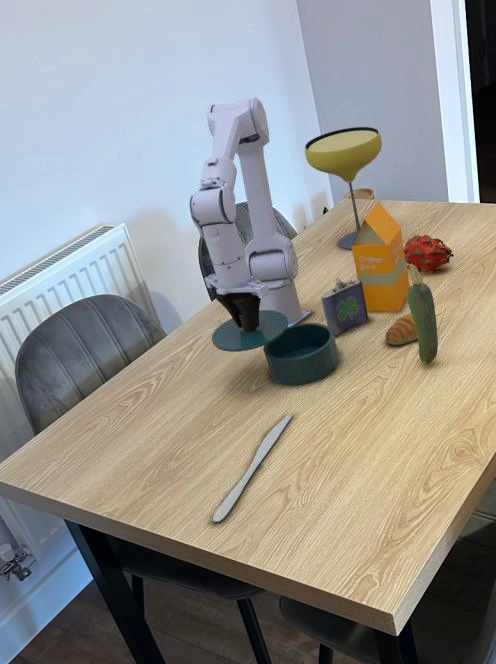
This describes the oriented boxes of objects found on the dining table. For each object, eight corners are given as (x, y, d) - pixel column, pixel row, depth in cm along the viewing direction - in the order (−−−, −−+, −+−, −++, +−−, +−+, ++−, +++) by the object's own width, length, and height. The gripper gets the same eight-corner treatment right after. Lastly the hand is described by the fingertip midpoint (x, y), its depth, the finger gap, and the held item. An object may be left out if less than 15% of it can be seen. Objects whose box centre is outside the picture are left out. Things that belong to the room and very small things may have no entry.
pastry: (401, 351, 142) (397, 333, 140) (377, 341, 147) (374, 324, 145) (436, 329, 146) (434, 312, 144) (412, 321, 151) (410, 304, 149)
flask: (333, 338, 151) (322, 290, 145) (326, 334, 153) (314, 286, 147) (371, 321, 154) (362, 272, 148) (364, 316, 156) (354, 268, 150)
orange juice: (363, 311, 158) (345, 220, 147) (377, 291, 165) (361, 202, 153) (398, 311, 155) (382, 218, 144) (411, 291, 161) (397, 200, 150)
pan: (256, 376, 145) (249, 351, 142) (302, 342, 152) (295, 318, 149) (307, 391, 137) (300, 365, 134) (353, 354, 144) (347, 329, 141)
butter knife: (204, 518, 112) (221, 520, 111) (281, 414, 132) (295, 414, 131) (205, 521, 113) (222, 523, 111) (282, 417, 132) (296, 417, 131)
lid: (197, 346, 140) (190, 325, 138) (251, 310, 148) (244, 289, 146) (251, 360, 132) (244, 338, 129) (304, 322, 140) (299, 300, 137)
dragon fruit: (404, 272, 174) (453, 282, 169) (390, 265, 166) (441, 275, 161) (414, 235, 172) (463, 244, 168) (400, 226, 165) (451, 236, 160)
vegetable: (445, 359, 137) (431, 256, 125) (439, 372, 134) (424, 268, 122) (421, 359, 138) (405, 257, 127) (415, 372, 135) (398, 269, 124)
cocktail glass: (311, 248, 192) (288, 149, 177) (361, 221, 200) (343, 124, 186) (360, 261, 180) (339, 155, 165) (411, 231, 188) (396, 128, 174)
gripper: (184, 263, 133) (207, 330, 141) (240, 273, 125) (261, 344, 132) (212, 246, 137) (233, 312, 145) (269, 255, 129) (288, 324, 136)
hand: (248, 326), depth 139 cm, fingers closed on lid, 2 cm apart
